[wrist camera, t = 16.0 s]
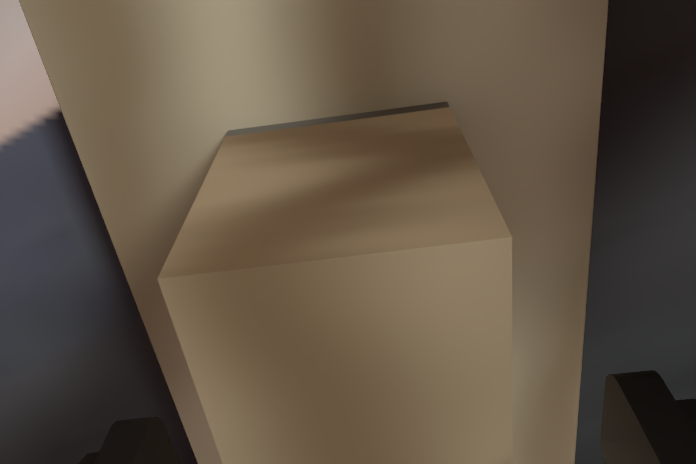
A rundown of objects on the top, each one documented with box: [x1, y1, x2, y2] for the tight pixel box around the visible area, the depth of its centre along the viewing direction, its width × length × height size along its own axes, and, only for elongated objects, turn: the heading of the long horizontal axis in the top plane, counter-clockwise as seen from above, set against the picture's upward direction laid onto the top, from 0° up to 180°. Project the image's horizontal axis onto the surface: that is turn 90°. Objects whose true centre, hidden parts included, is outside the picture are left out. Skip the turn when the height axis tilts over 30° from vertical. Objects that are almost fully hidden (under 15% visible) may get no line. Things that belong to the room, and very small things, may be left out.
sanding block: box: [157, 102, 512, 464], centre depth 13 cm, size 5×8×6 cm, turn 8°
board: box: [19, 0, 608, 464], centre depth 19 cm, size 12×25×2 cm, turn 8°
